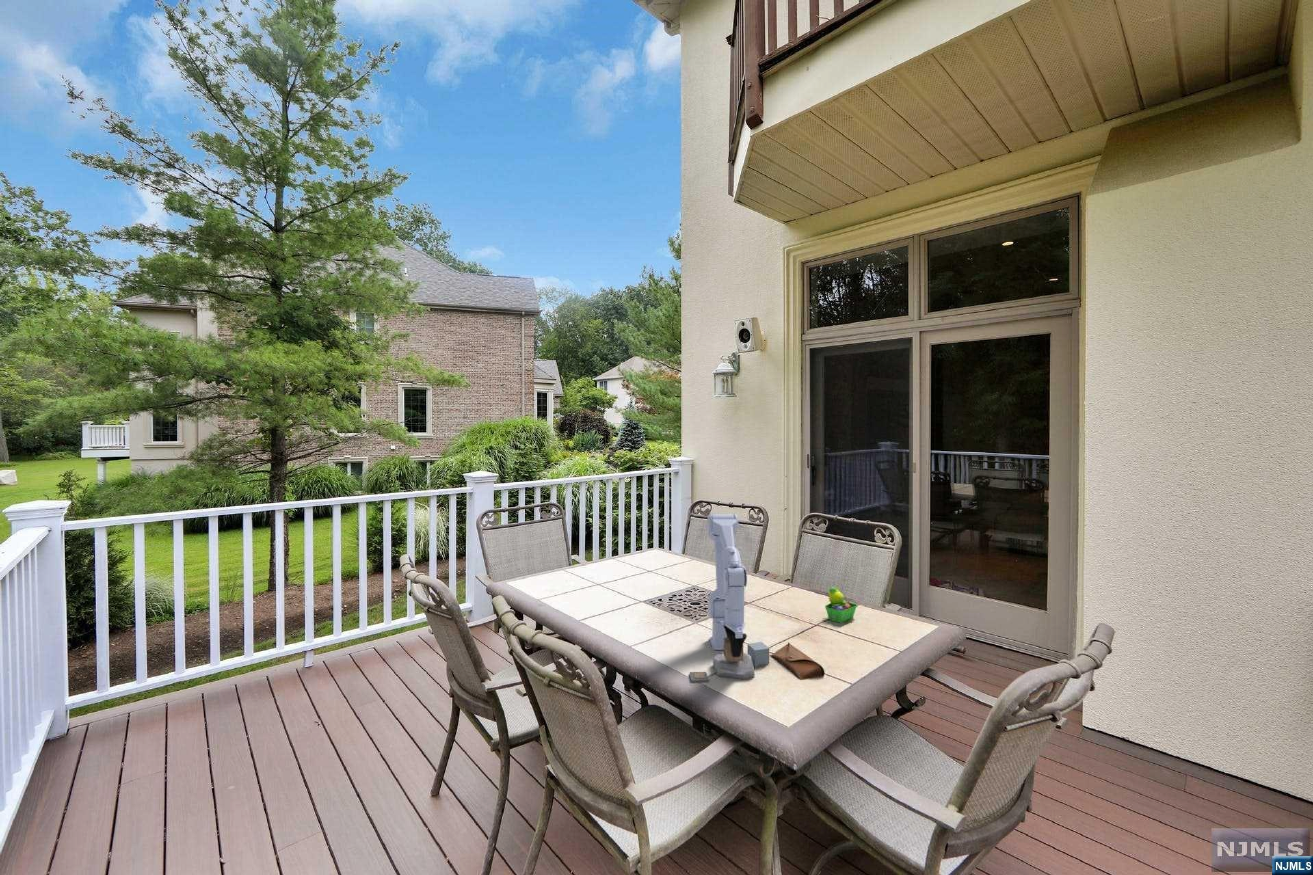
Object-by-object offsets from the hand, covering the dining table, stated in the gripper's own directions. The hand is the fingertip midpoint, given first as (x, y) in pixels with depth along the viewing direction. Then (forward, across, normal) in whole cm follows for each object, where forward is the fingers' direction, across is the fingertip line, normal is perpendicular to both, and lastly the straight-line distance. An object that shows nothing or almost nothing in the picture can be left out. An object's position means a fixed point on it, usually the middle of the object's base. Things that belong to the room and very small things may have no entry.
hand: (734, 652), depth 156 cm
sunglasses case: (+7, -4, +20) cm, 22 cm away
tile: (+6, +3, -11) cm, 13 cm away
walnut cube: (+2, 0, 0) cm, 2 cm away
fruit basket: (+6, -42, +49) cm, 65 cm away
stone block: (+7, 0, 0) cm, 7 cm away
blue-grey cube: (+6, -7, +9) cm, 13 cm away
